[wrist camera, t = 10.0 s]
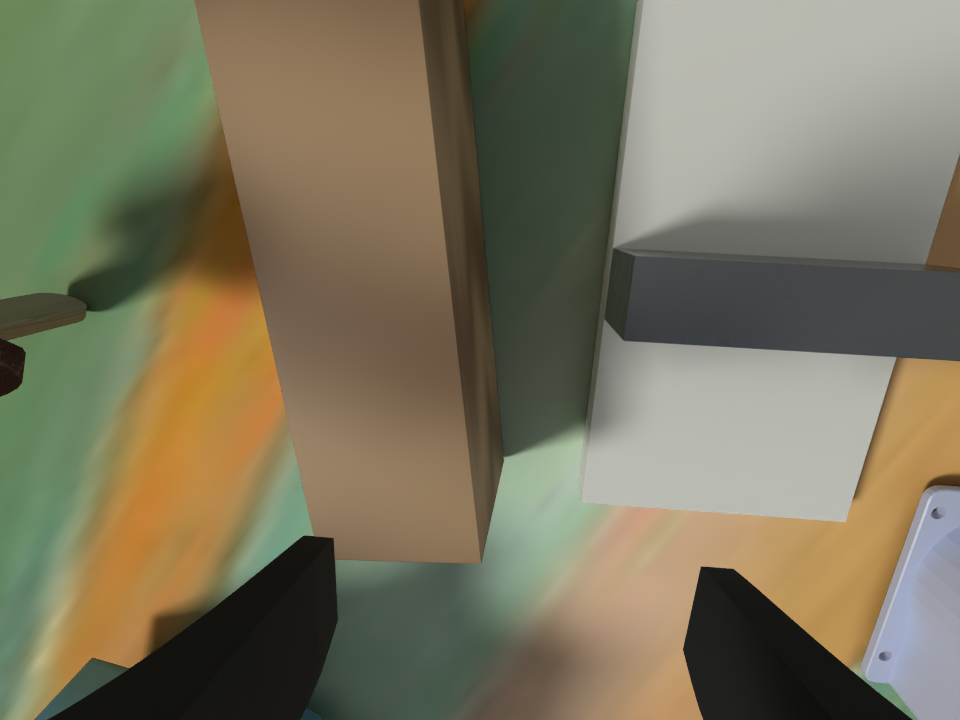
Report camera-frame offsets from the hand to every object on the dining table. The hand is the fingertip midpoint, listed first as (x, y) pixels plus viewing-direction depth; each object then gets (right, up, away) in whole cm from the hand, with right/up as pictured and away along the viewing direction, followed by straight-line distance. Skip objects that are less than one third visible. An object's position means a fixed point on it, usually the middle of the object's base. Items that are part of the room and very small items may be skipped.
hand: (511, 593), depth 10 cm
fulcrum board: (+9, +7, +8) cm, 14 cm away
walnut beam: (-4, +6, +2) cm, 8 cm away
